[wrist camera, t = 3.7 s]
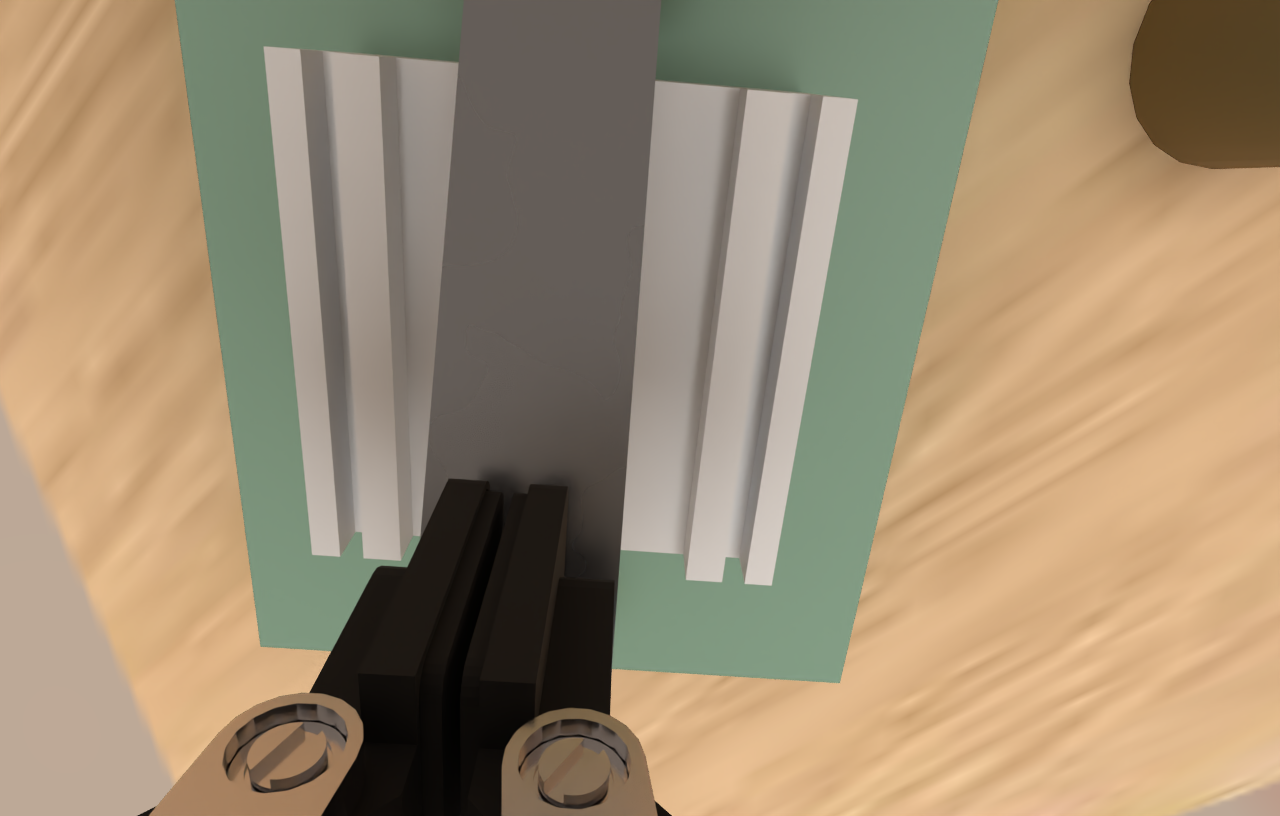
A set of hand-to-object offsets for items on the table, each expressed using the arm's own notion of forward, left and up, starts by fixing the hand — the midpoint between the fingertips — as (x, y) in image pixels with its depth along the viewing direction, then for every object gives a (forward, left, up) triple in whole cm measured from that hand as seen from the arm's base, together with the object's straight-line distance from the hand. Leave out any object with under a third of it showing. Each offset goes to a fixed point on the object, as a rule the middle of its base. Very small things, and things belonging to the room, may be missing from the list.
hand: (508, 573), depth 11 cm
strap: (-2, 0, -3) cm, 3 cm away
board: (-2, 0, -13) cm, 13 cm away
